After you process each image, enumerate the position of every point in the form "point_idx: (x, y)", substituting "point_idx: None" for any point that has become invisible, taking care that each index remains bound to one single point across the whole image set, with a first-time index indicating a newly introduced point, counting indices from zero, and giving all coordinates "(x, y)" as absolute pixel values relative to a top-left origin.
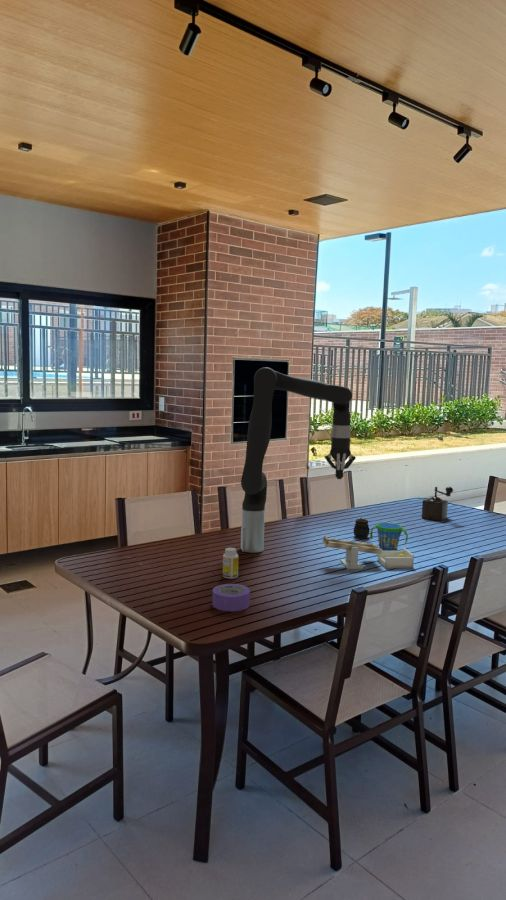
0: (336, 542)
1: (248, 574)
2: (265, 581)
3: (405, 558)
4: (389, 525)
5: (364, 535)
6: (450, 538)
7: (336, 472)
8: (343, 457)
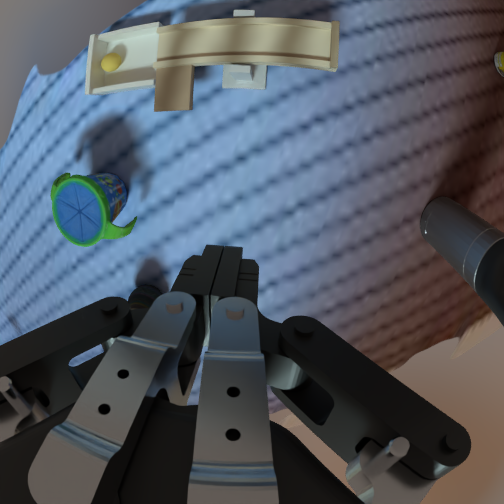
0: (303, 24)
1: (479, 61)
2: (457, 15)
3: (112, 31)
4: (76, 229)
5: (144, 285)
6: (13, 261)
7: (257, 291)
8: (99, 442)
